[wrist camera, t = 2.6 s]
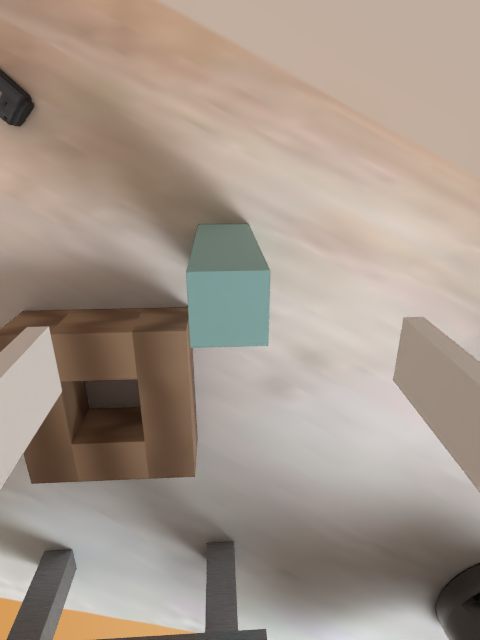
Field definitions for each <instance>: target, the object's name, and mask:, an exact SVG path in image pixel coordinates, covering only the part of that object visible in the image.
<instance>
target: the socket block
mask: <svg viewBox="0 0 480 640" xmlns="http://www.w3.org/2000/svg"><path fill="white" fill-rule="evenodd" d="M47 326H49V330H50V335H51V339H52V344H53V349H54V354H55V359H56V364H57V369H58V373H59V378H60V383H61V388H62V393H61V394H60V396H59V397H58V399H57V400H56V402H55V404H54V405H53V407H52V408H51V410H50V412H49V413H48V415H47V416H46V418H45V420H44V421H43V423H42V424H41V426H40V427H39V429H38V431H37V432H36V434H35V435H34V437H33V439H32V440H31V442H30V443H29V445H28V447H27V448H26V450H25V451H24V456H25V460H26V464H27V468H28V472H29V476H30V479H31V483H32V484H34V483H58V482H81V481H104V480H128V479H151V478H174V477H195V468H196V452H197V423H196V405H195V386H194V367H193V349H192V348H190V332H189V314H188V307H181V308H135V309H90V310H45V311H23V312H21V313H20V314H19V315H18V316H17V317H15V318H14V319H13V320H12V321H10V322H9V323H8V324H7V325H5V326H4V327H3V328H2V329H1V330H0V352H1V351H2V350H3V349H4V348H5V347H7V346H8V345H9V344H10V343H11V342H12V341H13V340H14V339H15V338H16V337H17V336H18V335H19V334H20V333H21V332H22V331H23V330H24V329H25V328H27V327H47ZM128 379H137V380H138V389H139V397H140V406H141V407H132V408H103V409H89V406H88V400H87V395H86V389H85V383H84V381H95V380H128Z"/></svg>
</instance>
